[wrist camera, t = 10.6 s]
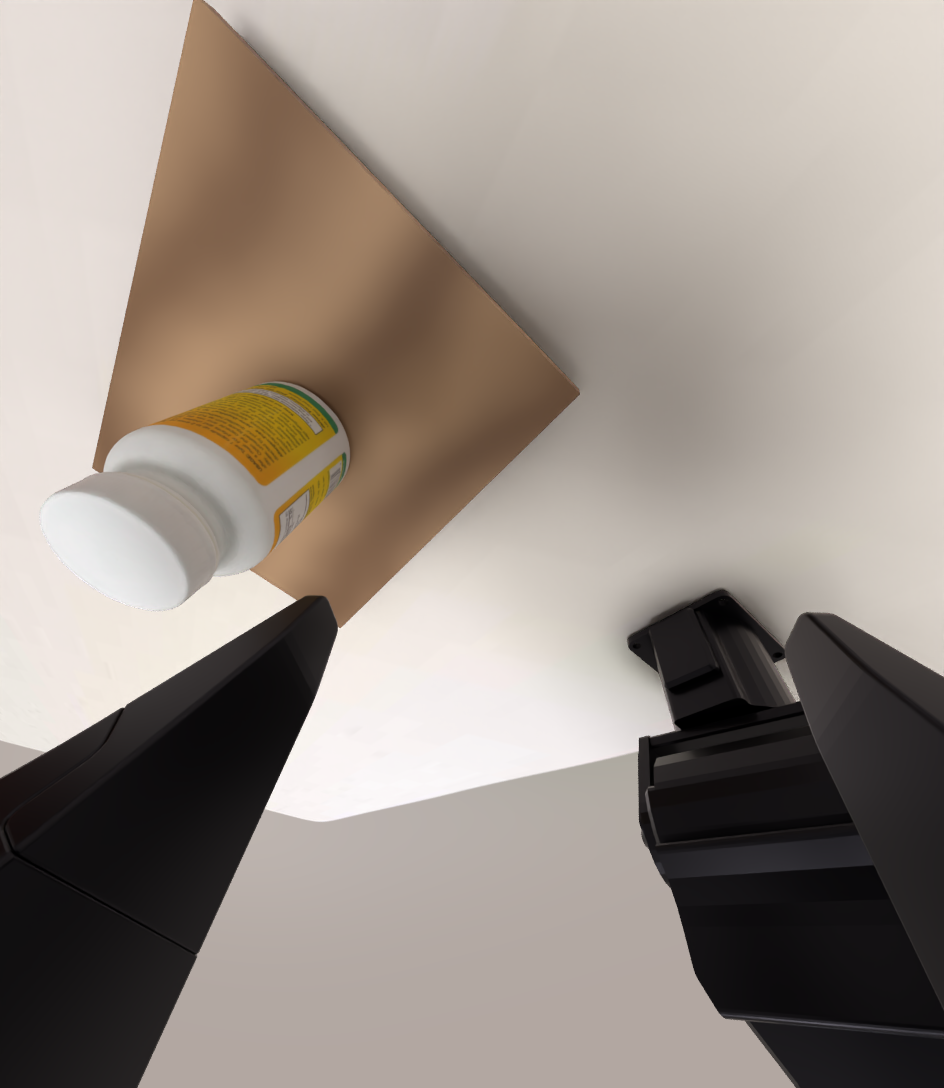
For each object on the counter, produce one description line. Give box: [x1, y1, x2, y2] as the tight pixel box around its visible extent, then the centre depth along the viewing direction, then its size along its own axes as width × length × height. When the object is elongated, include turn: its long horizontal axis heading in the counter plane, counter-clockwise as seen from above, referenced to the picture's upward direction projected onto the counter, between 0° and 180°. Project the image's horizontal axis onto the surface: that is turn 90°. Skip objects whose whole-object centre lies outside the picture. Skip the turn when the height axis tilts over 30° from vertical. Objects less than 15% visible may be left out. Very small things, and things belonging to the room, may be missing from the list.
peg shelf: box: [92, 0, 580, 628], centre depth 19 cm, size 16×20×2 cm
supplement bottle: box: [40, 381, 350, 611], centre depth 15 cm, size 5×5×10 cm
